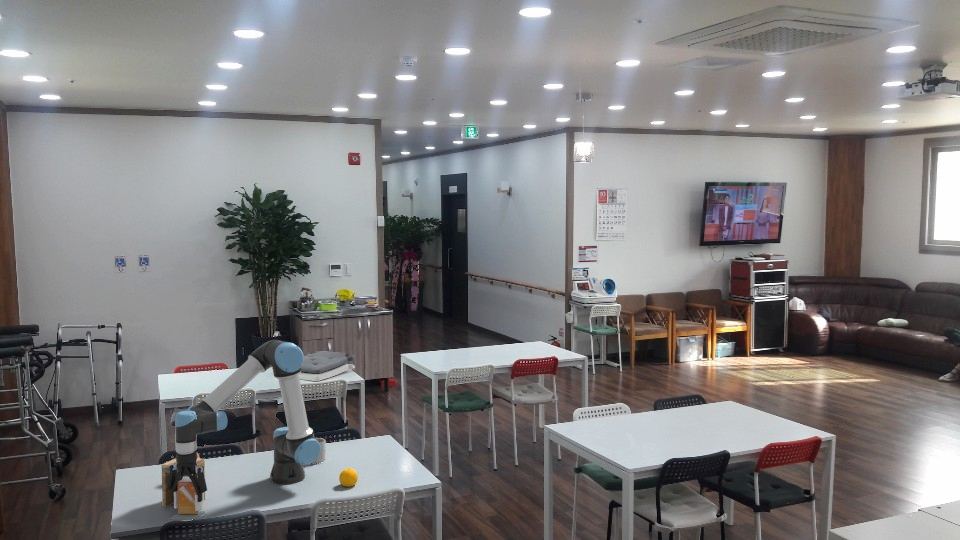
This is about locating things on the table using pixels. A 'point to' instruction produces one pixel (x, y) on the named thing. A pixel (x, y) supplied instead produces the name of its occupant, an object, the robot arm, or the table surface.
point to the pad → (186, 516)
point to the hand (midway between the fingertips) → (187, 508)
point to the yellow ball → (348, 477)
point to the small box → (187, 497)
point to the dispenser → (167, 494)
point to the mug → (323, 451)
